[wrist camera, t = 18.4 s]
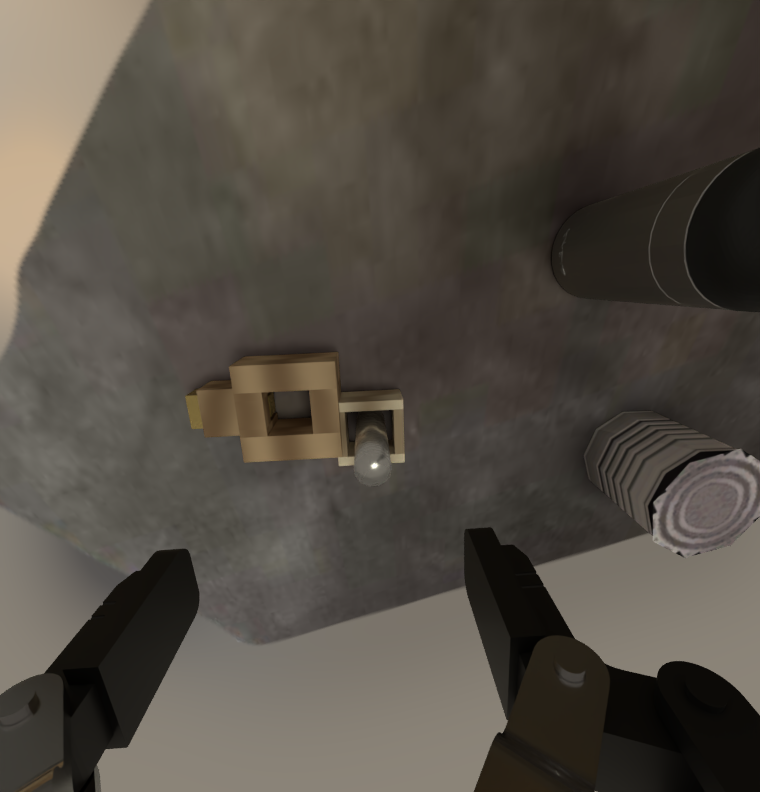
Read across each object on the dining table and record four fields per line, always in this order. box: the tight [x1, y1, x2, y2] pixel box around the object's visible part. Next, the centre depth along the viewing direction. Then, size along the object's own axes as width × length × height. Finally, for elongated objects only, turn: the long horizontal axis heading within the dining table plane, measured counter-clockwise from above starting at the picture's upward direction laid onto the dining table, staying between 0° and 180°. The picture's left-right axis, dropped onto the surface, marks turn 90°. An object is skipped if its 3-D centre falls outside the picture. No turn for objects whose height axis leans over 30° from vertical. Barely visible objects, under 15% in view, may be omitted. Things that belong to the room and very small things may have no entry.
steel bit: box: [354, 410, 392, 486], centre depth 38 cm, size 3×3×12 cm
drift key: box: [185, 388, 275, 429], centre depth 41 cm, size 8×4×3 cm, turn 92°
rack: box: [338, 389, 405, 466], centre depth 42 cm, size 7×7×4 cm
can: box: [584, 411, 760, 558], centre depth 41 cm, size 11×11×12 cm
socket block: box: [196, 352, 343, 462], centre depth 40 cm, size 14×10×5 cm
